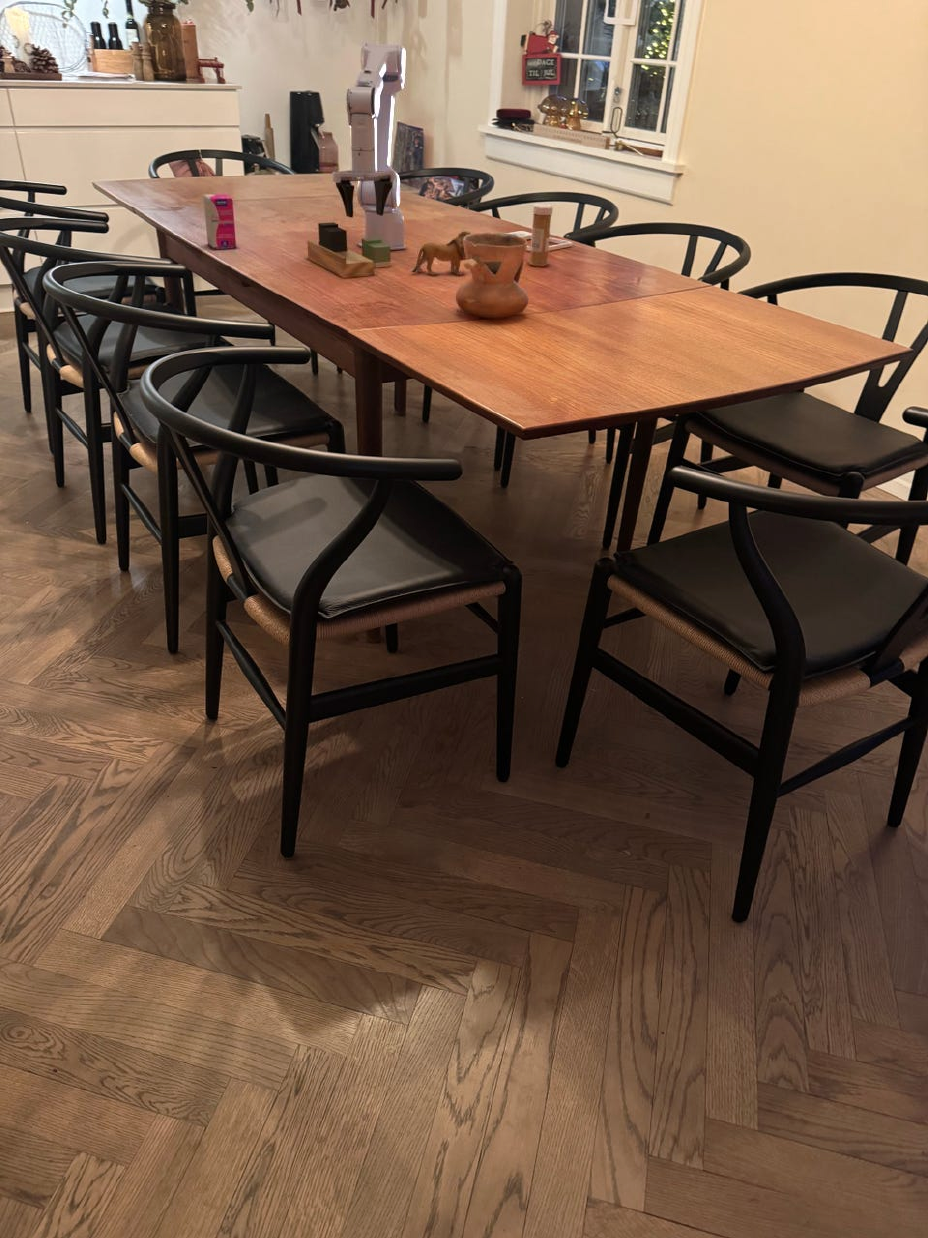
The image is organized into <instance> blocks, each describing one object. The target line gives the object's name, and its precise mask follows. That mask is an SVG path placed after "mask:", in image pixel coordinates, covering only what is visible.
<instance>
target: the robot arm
mask: <svg viewBox="0 0 928 1238" xmlns="http://www.w3.org/2000/svg"><path fill="white" fill-rule="evenodd" d="M360 68H361V71H359V73H358V76H357V77H356V80H355V83H354V85H351V87H350V88H347V90H346V94H345V95H346V96H345V105H346V106H345V107H346V113H347V123H348V126H349V133H350V134H349V136H350V137H349V138H350V140H349V141H350V170H341V171H332V182H334V183H335V187H336V189H337V190H338V192H339V195H340V197H341V200H342V203H343V206H344V210H345V215H346V217H348V218H350V219H351V218H354V195H355V194H354V193H355V185H353V184H352V183H353V182H358V183H357V186H356V191H357V192H356V197H357V198H356V199H357V203H358V205H359V206H360V207H361V208H362V210H363V212H364V239H366V238H378V239H381V240H382V242H381V243H384V244H386V245H388V246H390V251H396V250H406V246H405V218H404V215H403V214H404V213H403V212H402V211H401V210H400V209H398V207H400V203H401V180H400V176H399V174H398V173H397V171H396V170H395V169H393V168H392V167H391V152H392V135H393V125H394V124H393V123H394V108H395V100H396V97H397V93H399V92H400V91H402V90H403V89H404V85H405V78H406V75H405V74H406V49H405V47H404V46H403V45H402V44H398V45H397V44H395V45H394V44H381V43H380V44H378V43H377V44H376V43H367V42H364V43H363V44H362V46H361V48H360ZM358 246H360V247H362V242H359V243H358Z"/></svg>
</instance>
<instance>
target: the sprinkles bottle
mask: <svg viewBox="0 0 928 1238" xmlns="http://www.w3.org/2000/svg"><path fill="white" fill-rule="evenodd" d="M553 207H554V206H553V205H551V204H547V203H535V204H534V205H533V206H532V215H533V216H532V217H533V218H532V227H531V233H532V236H531V239H530V247H531V251H530V255H529V265H530V266H532V267H547V266H548V264H549V263H548V259H549V258H548V257H549V251H548V250H549V246H550V241H549V238H550V236H551V223H552V215H553Z"/></svg>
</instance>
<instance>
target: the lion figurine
mask: <svg viewBox="0 0 928 1238" xmlns="http://www.w3.org/2000/svg"><path fill="white" fill-rule="evenodd" d="M470 234H472V232H470V231H468V230H463V231H461V232H460V233H458V235H457V236H456V237H455V238H452V240H450V241H449V242H447V243H445V244H442V243H436V242H433V241H432V242H431V241H429V242H426V243H424V244H423V245H422V246H421V248H420V249H419V252H418V254H417V259H416V264H415V266H414V268H413V269H412V270H411V273H416V272H418V273H423V272H424V270H423V268H421V266H422V265H423V264H425V263H427V265H426V269H427V271H428V272H429V276H436V275H437V274H436V272H435V271H433V269H432V266H433V263H434V261H435V259H437V260H438V261H440V262H450V272H451V273H453V274H455V275H456V276H462V272H460V267H461V262H462V261H467V260H466V256H465V252H464V246H463V238H464V237H465V236H467V235H470Z"/></svg>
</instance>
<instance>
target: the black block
mask: <svg viewBox="0 0 928 1238" xmlns="http://www.w3.org/2000/svg"><path fill="white" fill-rule="evenodd" d="M317 226H318V244H319V245H321V246H323V247H325V248H327V249H329V250H331V251H333V252H343V251H348V250H347V249H348V232H347V230H345V229H343V228H341V227H339V224H338V223H336V222H334V221H332V222H319V223H317Z"/></svg>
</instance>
